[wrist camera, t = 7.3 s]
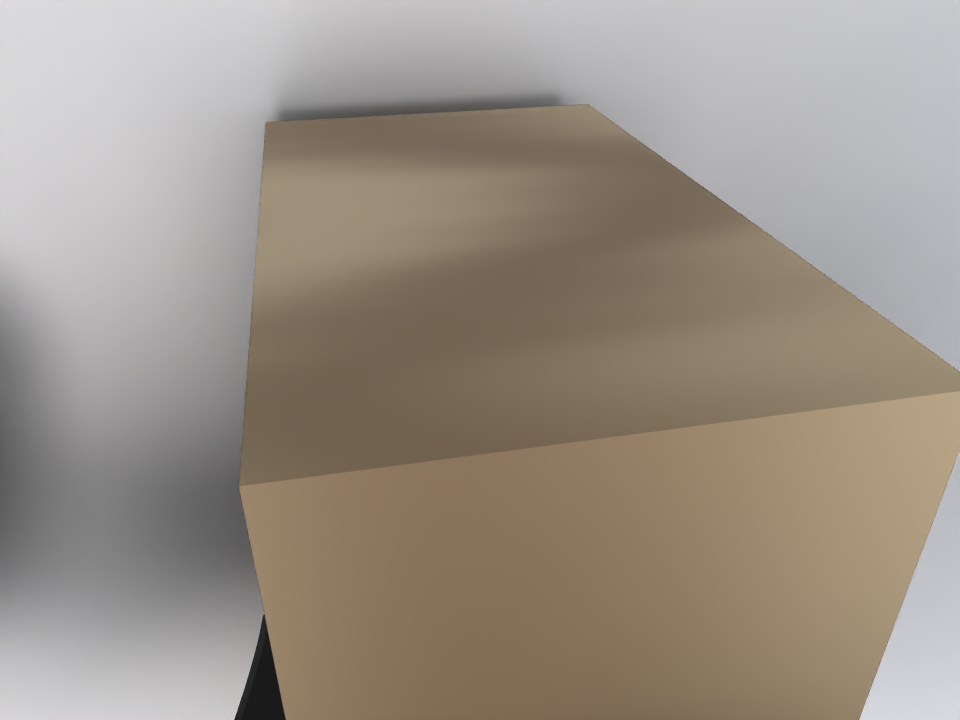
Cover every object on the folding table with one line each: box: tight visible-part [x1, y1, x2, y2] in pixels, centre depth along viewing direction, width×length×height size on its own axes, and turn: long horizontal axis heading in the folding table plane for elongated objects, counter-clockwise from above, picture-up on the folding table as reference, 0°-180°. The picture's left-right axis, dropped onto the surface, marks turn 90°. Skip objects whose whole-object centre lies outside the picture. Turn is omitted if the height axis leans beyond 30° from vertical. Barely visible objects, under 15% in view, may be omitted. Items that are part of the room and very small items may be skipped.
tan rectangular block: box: [239, 104, 960, 720], centre depth 9 cm, size 4×12×6 cm, turn 0°
